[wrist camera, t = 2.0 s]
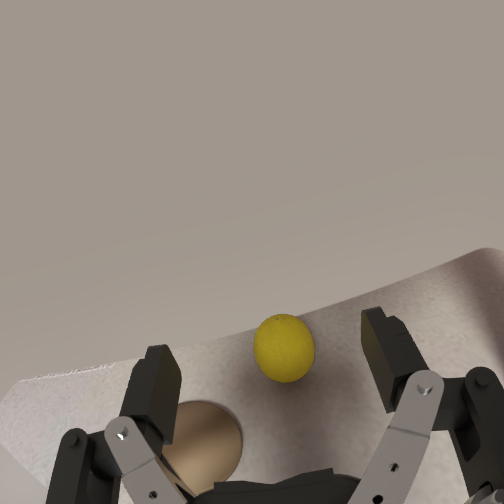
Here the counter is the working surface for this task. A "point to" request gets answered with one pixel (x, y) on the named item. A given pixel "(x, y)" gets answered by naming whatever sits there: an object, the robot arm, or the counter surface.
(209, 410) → the walnut board
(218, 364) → the counter surface
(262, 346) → the lemon
